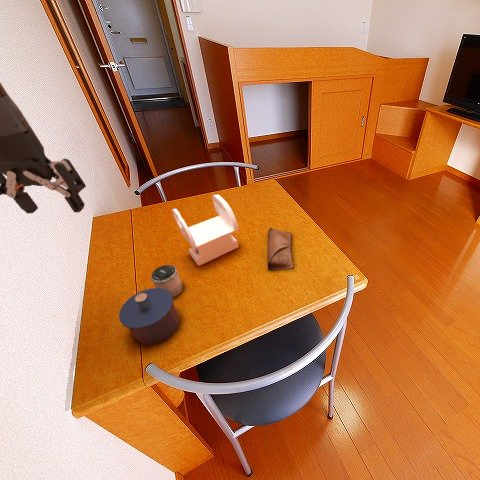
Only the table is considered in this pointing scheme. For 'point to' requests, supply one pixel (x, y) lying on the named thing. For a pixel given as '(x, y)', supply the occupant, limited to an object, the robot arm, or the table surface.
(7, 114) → the robot arm
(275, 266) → the sunglasses case
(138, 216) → the table surface
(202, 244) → the tape dispenser
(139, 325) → the pot lid
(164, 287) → the camera lens
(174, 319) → the pot
